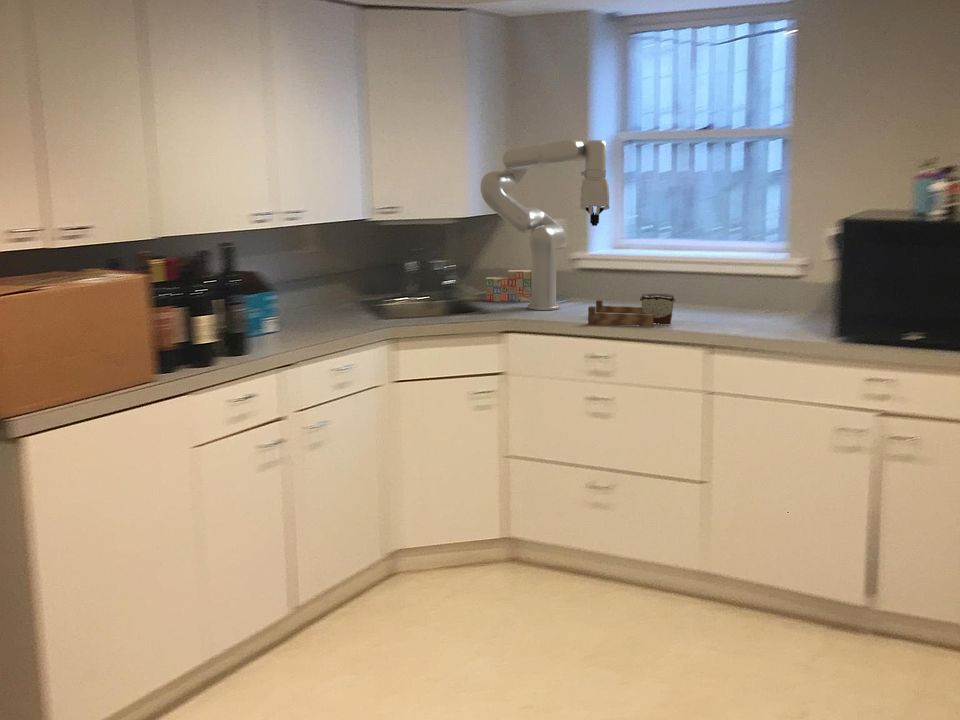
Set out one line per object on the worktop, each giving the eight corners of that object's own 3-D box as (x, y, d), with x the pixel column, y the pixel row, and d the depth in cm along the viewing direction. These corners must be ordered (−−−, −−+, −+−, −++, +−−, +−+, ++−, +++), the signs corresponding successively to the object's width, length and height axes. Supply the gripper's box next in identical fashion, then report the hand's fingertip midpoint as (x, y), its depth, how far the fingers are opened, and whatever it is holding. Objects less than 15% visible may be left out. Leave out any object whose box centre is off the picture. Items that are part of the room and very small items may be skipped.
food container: (677, 322, 347) (678, 293, 345) (674, 325, 341) (675, 296, 340) (642, 320, 351) (643, 292, 350) (639, 323, 346) (639, 294, 344)
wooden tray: (588, 324, 344) (588, 307, 342) (597, 316, 363) (597, 299, 362) (652, 326, 338) (652, 309, 337) (658, 318, 357) (658, 301, 356)
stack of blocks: (485, 301, 403) (485, 271, 401) (485, 299, 409) (485, 269, 407) (538, 301, 402) (538, 271, 400) (538, 299, 408) (538, 269, 406)
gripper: (573, 175, 361) (572, 226, 365) (614, 175, 358) (613, 226, 361) (576, 174, 369) (576, 224, 372) (617, 174, 365) (616, 225, 368)
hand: (594, 225), depth 367 cm, fingers closed
